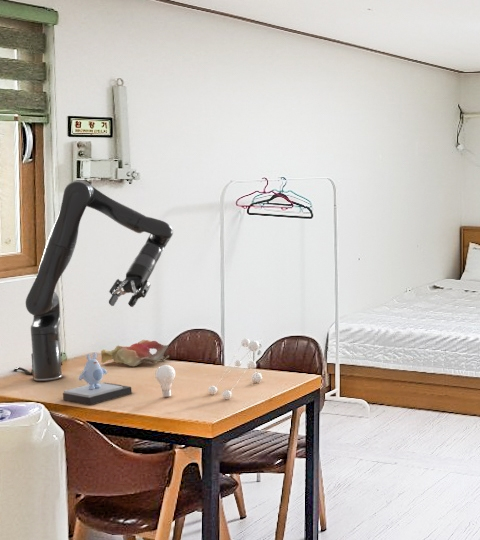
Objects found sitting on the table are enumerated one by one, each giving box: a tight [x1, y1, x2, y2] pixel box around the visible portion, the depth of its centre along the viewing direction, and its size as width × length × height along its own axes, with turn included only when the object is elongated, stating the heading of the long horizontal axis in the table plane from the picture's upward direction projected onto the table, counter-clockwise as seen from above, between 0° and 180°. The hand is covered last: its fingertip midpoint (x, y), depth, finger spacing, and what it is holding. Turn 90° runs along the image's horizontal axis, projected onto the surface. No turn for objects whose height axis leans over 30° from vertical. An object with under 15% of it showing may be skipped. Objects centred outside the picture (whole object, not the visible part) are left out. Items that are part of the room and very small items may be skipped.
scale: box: [62, 382, 133, 406], centre depth 294 cm, size 14×16×3 cm
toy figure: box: [78, 352, 108, 390], centre depth 292 cm, size 11×6×12 cm, turn 150°
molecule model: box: [207, 338, 263, 400], centre depth 299 cm, size 14×25×18 cm, turn 155°
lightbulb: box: [154, 364, 177, 398], centre depth 292 cm, size 6×6×11 cm
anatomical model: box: [100, 339, 170, 367], centre depth 347 cm, size 23×25×10 cm
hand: (120, 305), depth 308 cm, fingers open, 8 cm apart
